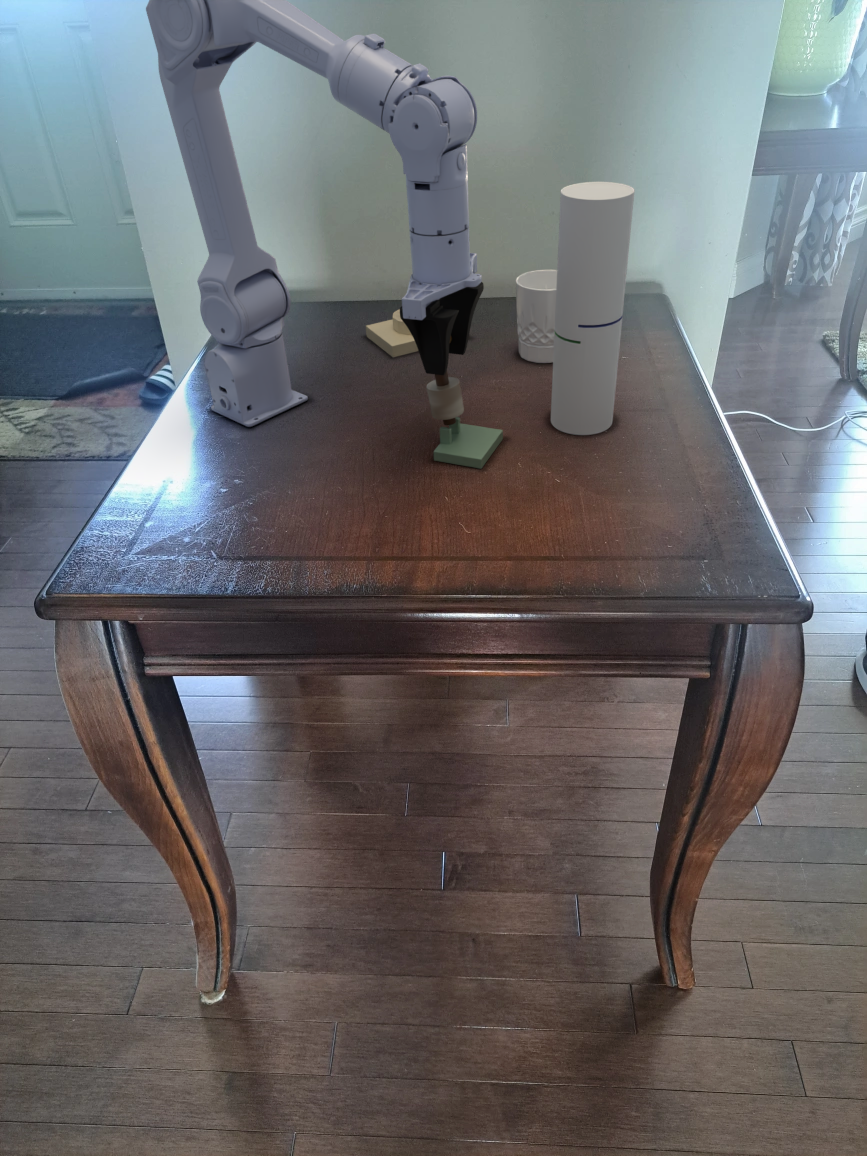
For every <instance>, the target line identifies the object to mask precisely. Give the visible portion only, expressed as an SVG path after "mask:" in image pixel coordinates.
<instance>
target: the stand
mask: <svg viewBox="0 0 867 1156" xmlns="http://www.w3.org/2000/svg"><path fill="white" fill-rule="evenodd" d="M455 418H456V423H455V424H453V425H448V426H440V427H439V444H438V445H437V446H436V448H435V449H434V450H433V461H435V462H440V463H446V464H451V465H457V466H463V467H467V468H475V469H479V470H480V469H483V467H484V466H485V465H486V463H487V462H488V460H489V459H490V457H491V456H492V455H493V453H494V452H495V451H496V450H497V448H498V447H499V445H501V442H502V441H503V440H504V430H503V429H498V428H494V427H493V428H492V427H486V426H481V425H474V424H467V423H462V422H461V416H458V417H455Z"/></svg>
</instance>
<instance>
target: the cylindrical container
mask: <svg viewBox="0 0 867 1156" xmlns="http://www.w3.org/2000/svg"><path fill="white" fill-rule="evenodd" d="M634 199H635V188H634V187H633V186H631V185H628V184H625V183H621V182H615V181H612V182H611V181H585V182H578V183H573V184H570V185H566V186H563V187H562V188H561V190H560V200H559V201H560V202H559V218H558V219H559V221H558V222H559V224H558V241H557V243H558V244H557V267H556V270H557V287H556V309H555V332H554V354H553V362H552V377H551V383H552V384H551V400H550V424H551V425H552V426H553V427H554V428H555V429H557V430H558V431H560V432H562V433H566V434H569V435H575V436H590V435H597V434H600V433H603V432H605V431H607V430H608V429H609V428H611V427H612V425H613V420H614V410H615V399H616V389H617V378H618V367H619V357H620V346H621V337H622V326H623V314H624V303H625V294H626V285H627V273H628V263H629V253H630V252H629V251H630V243H631V242H630V241H631V232H632V231H631V230H632V221H633V220H632V219H633V209H634Z"/></svg>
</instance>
